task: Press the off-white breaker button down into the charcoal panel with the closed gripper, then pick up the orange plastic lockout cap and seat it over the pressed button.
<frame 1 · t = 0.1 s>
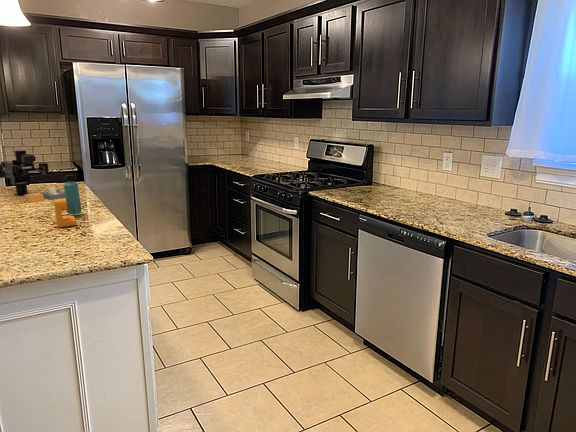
hand: (36, 171, 236), 17 cm above the countertop, tool horizontal, fingers open, 9 cm apart
lockout cap: (34, 200, 238), on the countertop
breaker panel: (56, 196, 250), on the countertop
beverage bottle: (74, 216, 206), on the countertop
bracket: (66, 225, 191), on the countertop
breaker button: (51, 190, 247), point 4 cm above the countertop, slide at 0.0 cm
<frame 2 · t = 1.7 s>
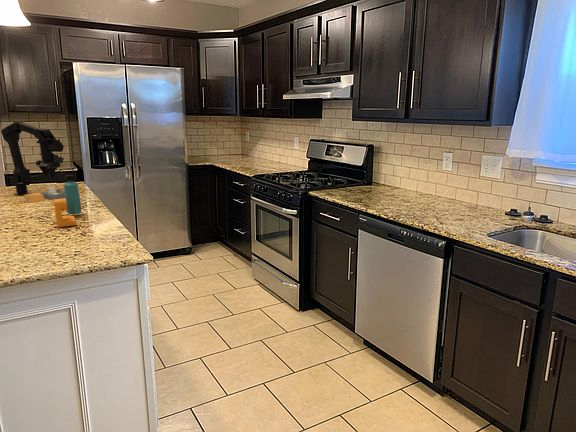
hand: (50, 178, 246), 11 cm above the countertop, tool pointing down, fingers open, 6 cm apart
nothing on the countertop moved.
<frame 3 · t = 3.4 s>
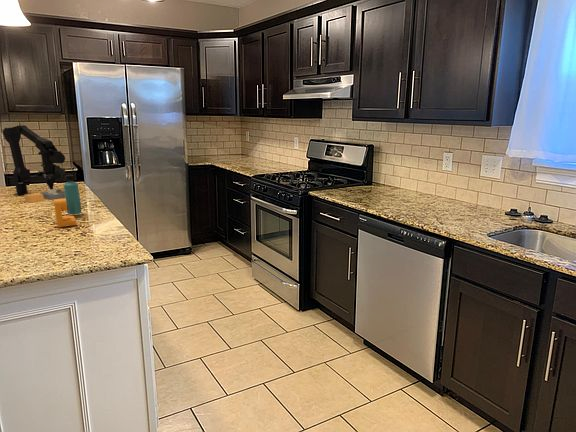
hand: (51, 189, 247), 5 cm above the countertop, tool pointing down, fingers closed, pressing on breaker button
breaker button: (52, 192, 248), point 3 cm above the countertop, slide at 0.8 cm, touching gripper
everything else where it was.
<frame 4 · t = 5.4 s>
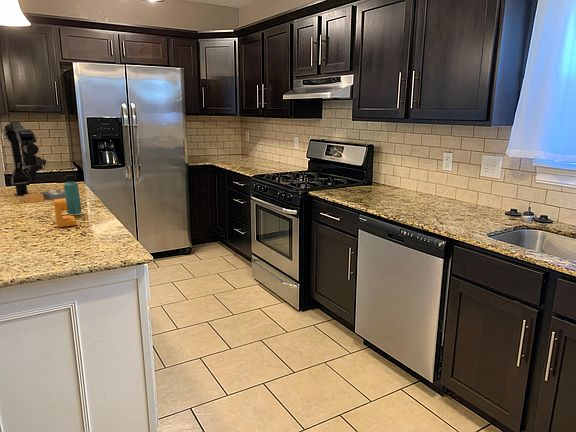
hand: (32, 181, 236), 11 cm above the countertop, tool pointing down, fingers open, 3 cm apart
breaker button: (52, 193, 248), point 2 cm above the countertop, slide at 1.6 cm
everything else where it was.
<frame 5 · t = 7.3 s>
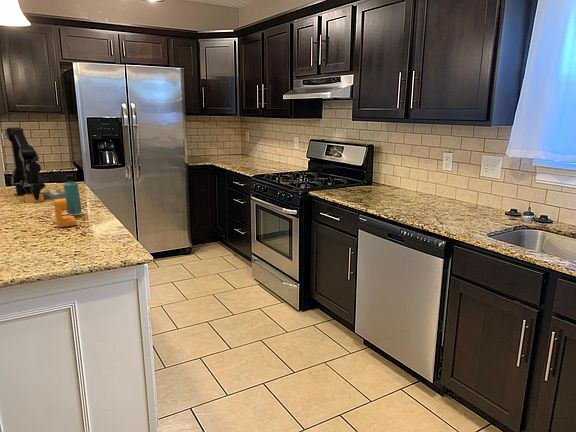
hand: (34, 199, 238), 1 cm above the countertop, tool pointing down, fingers closed on lockout cap, 7 cm apart
lockout cap: (34, 200, 238), on the countertop, touching gripper
everything else where it was.
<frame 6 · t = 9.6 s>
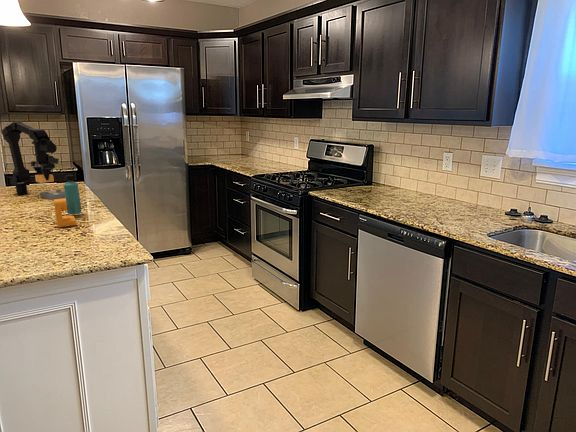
hand: (44, 179, 242), 11 cm above the countertop, tool pointing down, fingers closed on lockout cap, 7 cm apart
lockout cap: (44, 181, 243), point 10 cm above the countertop, touching gripper
everything else where it was.
when the fingers open (5 cm above the countertop, at t = 12.0 s): lockout cap drops 1 cm, resting on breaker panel.
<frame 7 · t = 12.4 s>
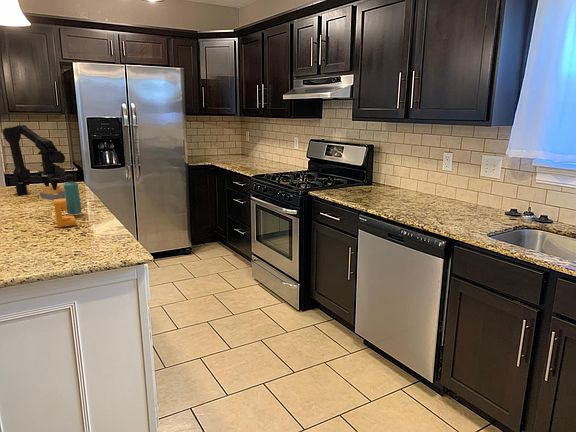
hand: (51, 189, 247), 5 cm above the countertop, tool pointing down, fingers open, 9 cm apart
lockout cap: (52, 192, 248), point 3 cm above the countertop, touching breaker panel
everything else where it was.
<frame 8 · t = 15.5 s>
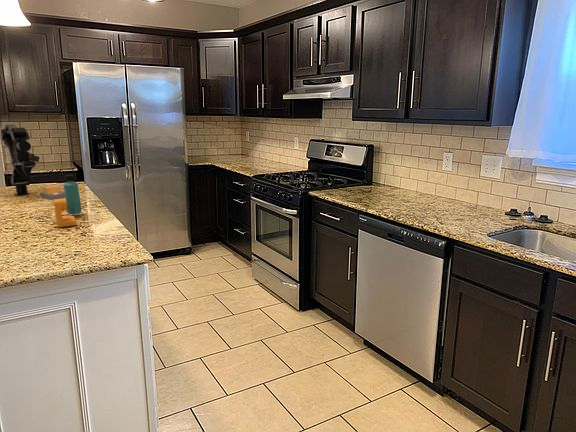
hand: (25, 177, 243), 12 cm above the countertop, tool pointing down, fingers open, 9 cm apart
nothing on the countertop moved.
at the end: breaker button slide at 1.6 cm; lockout cap 0.0 cm from the target spot on the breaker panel, point 2.6 cm above the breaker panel's base; lockout cap tilted 1° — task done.
